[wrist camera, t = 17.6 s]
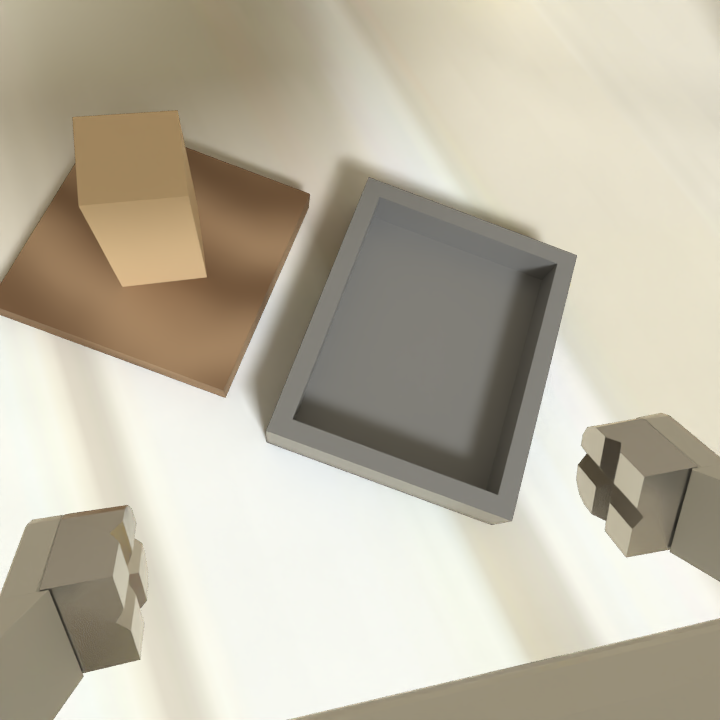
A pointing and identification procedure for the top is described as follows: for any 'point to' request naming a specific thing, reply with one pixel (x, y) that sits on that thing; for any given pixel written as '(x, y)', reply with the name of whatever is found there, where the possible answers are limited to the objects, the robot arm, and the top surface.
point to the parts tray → (427, 354)
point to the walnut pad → (166, 299)
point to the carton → (139, 195)
